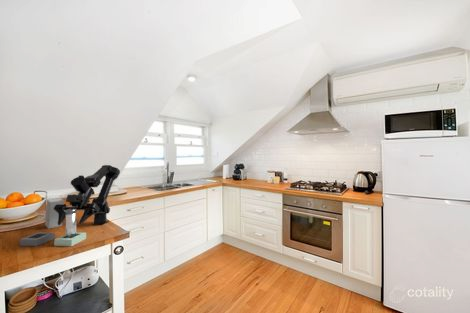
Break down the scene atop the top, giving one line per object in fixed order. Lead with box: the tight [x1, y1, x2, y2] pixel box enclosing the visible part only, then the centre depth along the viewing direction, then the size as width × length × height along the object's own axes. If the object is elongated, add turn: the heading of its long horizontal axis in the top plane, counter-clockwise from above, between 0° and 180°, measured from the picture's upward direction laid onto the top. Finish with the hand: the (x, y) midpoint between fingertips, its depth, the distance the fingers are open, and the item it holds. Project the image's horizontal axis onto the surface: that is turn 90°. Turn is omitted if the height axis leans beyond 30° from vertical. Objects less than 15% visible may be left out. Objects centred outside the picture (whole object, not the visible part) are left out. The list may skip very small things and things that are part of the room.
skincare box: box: [44, 197, 65, 230], centre depth 117 cm, size 8×7×16 cm
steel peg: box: [65, 208, 77, 238], centre depth 96 cm, size 4×4×16 cm
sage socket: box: [53, 231, 87, 247], centre depth 96 cm, size 8×8×3 cm
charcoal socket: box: [19, 231, 55, 247], centre depth 95 cm, size 8×8×3 cm
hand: (69, 224), depth 94 cm, fingers open, 9 cm apart
